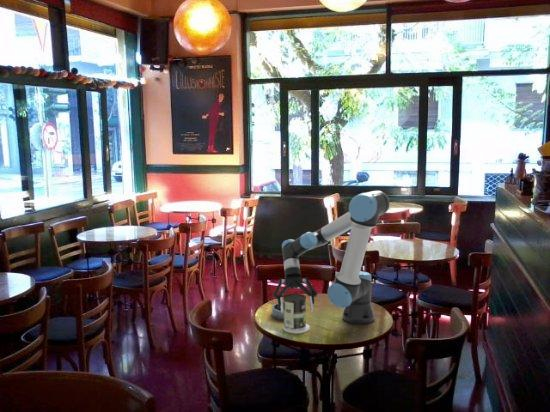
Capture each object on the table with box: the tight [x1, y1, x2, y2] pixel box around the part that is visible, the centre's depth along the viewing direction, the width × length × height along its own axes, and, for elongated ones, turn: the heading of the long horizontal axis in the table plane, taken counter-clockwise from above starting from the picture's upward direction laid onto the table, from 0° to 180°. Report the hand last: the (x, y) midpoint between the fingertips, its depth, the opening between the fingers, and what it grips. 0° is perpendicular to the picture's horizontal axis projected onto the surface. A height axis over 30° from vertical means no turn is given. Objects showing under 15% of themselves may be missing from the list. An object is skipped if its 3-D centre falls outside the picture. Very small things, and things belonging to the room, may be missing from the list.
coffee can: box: [282, 293, 307, 330], centre depth 242 cm, size 10×10×14 cm
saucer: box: [283, 323, 311, 335], centre depth 243 cm, size 12×12×1 cm
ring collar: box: [271, 301, 284, 321], centre depth 261 cm, size 14×14×4 cm
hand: (297, 311), depth 239 cm, fingers open, 13 cm apart
